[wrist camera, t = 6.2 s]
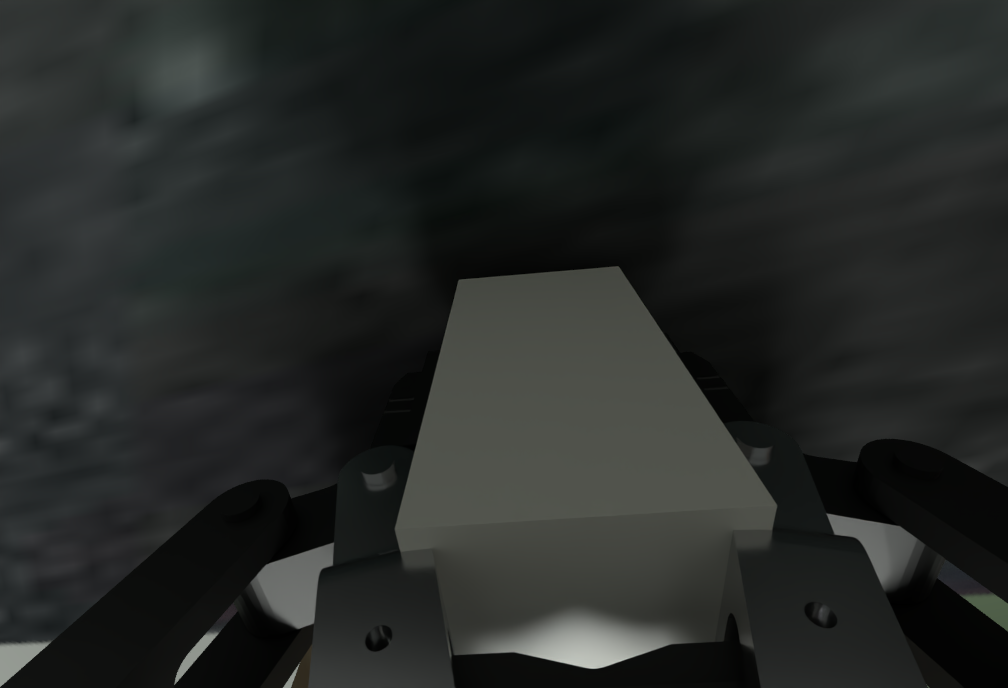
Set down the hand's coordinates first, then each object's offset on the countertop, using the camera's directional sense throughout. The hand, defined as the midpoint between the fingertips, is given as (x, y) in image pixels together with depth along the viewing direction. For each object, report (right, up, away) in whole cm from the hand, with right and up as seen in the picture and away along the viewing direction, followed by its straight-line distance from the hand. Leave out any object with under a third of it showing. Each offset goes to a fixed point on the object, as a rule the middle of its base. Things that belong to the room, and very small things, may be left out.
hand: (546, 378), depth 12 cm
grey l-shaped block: (+1, -5, +5) cm, 7 cm away
